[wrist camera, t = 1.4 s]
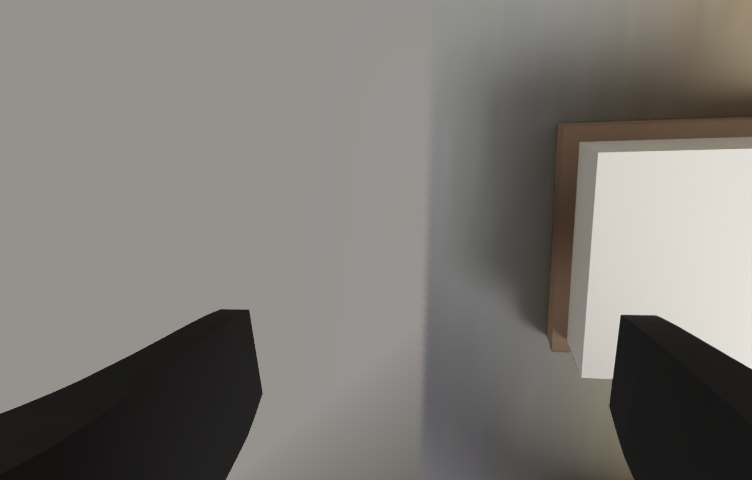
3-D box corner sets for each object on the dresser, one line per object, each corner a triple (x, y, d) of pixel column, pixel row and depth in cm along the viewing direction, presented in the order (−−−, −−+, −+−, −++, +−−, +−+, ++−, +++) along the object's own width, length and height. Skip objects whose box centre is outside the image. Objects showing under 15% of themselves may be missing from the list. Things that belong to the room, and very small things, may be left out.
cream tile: (753, 345, 17) (797, 387, 15) (567, 339, 19) (581, 377, 16) (791, 135, 15) (849, 146, 13) (579, 142, 16) (597, 152, 14)
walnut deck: (749, 342, 19) (767, 359, 18) (546, 336, 20) (551, 351, 19) (789, 115, 16) (813, 117, 15) (557, 123, 18) (563, 126, 16)
